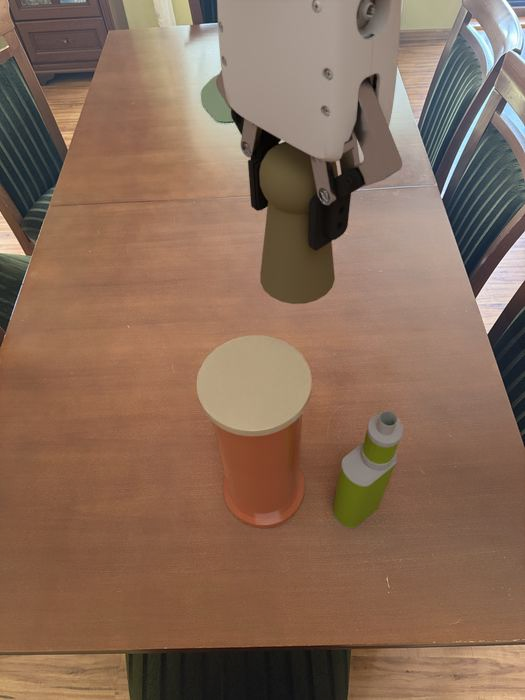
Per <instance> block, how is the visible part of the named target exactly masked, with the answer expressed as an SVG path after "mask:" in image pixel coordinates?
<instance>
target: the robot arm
mask: <svg viewBox="0 0 525 700" xmlns="http://www.w3.org/2000/svg"><path fill="white" fill-rule="evenodd" d="M216 7H217V8H216V9H217V30H218V46H219V57H220V67H221V70H220V71H219V73H218V74H219V75H218V74H217V75H218V77H217V79H216V85H217V88H218V90H219V92H220V94H221V95H222V97H223V99H224V100H225V102H226V104H227V105H228V107H229V109H231V117H232V119H233V121H232V122H233V123H234V124H235V126H236V128H237V130H238V132H239V133H240V136H241V138H240V150H241V152H242V153H243V155H244V156H245V157H246V158H250V159H248V160H247V169H248V180H249V181H248V182H249V195H250V206H251V208H252V209H254V210H255V211H257V212H259V211H263V210H264V209H267V208H268V200H267V199H266V198H265V196H264V194H263V192H262V189H261V187H260V174H259V170H260V166H261V162H262V161H263V159H264V157H265V155H266V154H267V152H268V151H269V150H270V149H271V148H273V147H274V146H276V145H278V144H280V143H281V142H287V143H289V144H290V145H292V146H294V147H296V148H298V149H300V150H302V151H303V152H305V153H307V154H309V155H310V158H311V164H312V169H313V174H314V180H315V185H316V190H317V195H315V196H314V197H312V198H311V200H310V202H309V230H308V243H309V247H311V248H312V249H314V250H315V251H317V250H319V249H320V248H322V247H323V246H325V245H326V244H328V243H329V242H331V241H335V240H337V239H338V238H340V237H342V236H343V235H344V234H345V232H346V231H347V229H348V226H349V217H350V208H351V198H352V194H353V193H354V192H356V191H358V190H359V189H361V188H364V187H367V186H370V185H373V184H376V183H379V182H382V181H384V180H386V179H387V178H389V177H391V176H393V175H394V174H395V173H397V172H399V171H401V170H402V167H403V159H402V158H401V157H402V156H401V155H400V153H399V150H398V146H397V144H396V142H395V140H394V137H393V134H392V132H391V130H390V124H391V120H392V113H393V108H394V101H395V93H396V86H397V85H396V83H397V74H398V65H399V64H398V63H399V51H400V50H399V49H400V40H401V39H400V38H401V37H400V36H401V21H402V20H401V19H402V0H216ZM358 145H359V146H358ZM359 149H360V150H361V152H362V155H363V160H362V161H361V160H360V153H359ZM338 161H339V167H340V174H338V176H337V177H335V178H334V173H333V166H332V162H336V163H337V162H338Z"/></svg>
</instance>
